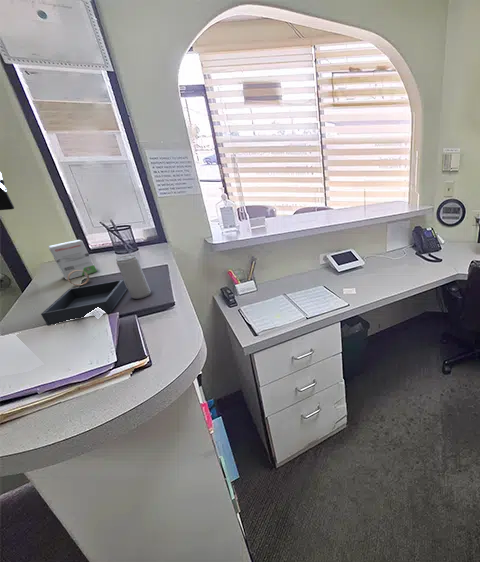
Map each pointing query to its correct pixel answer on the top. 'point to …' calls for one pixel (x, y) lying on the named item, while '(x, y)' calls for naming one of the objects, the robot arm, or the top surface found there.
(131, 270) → the beverage can
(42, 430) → the top surface
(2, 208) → the robot arm
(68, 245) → the ink box
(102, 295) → the desk tray
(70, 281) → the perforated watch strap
